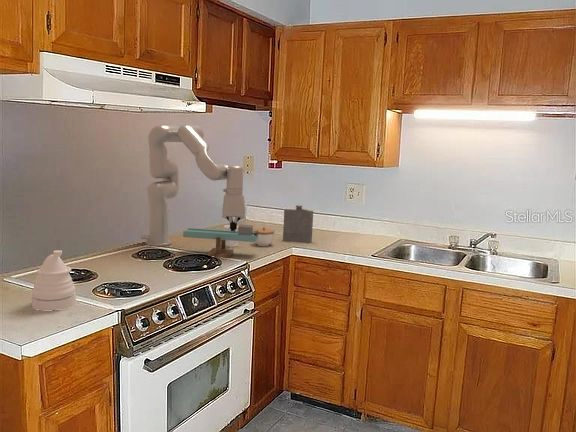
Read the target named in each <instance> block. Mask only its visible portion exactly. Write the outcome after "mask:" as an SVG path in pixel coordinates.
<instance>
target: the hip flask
mask: <svg viewBox="0 0 576 432" xmlns="http://www.w3.org/2000/svg"><path fill="white" fill-rule="evenodd" d="M313 223H314V210H308V209H306V208H303V205H302V204H301V205H299V204H296V205H295V208H284V210H283V229H282V230H283V233H282V242H292V243H301V244H302V243H303V244H312V241H313Z"/></svg>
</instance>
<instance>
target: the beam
mask: <svg viewBox="0 0 576 432" xmlns="http://www.w3.org/2000/svg"><path fill="white" fill-rule="evenodd" d="M182 234H183V235H182V236H183V238H190V239H191V238H194V239H206V240H207V239H208V240H216V237H220V238H221V241H222V240H231V241H238V242H249V243H256V241H257V239H258V231H255V232H253V235H252V236H251V235H238V231H228V230H224V229H213V228H212V229H211V228H198V227H188V228H187V230H183V233H182Z"/></svg>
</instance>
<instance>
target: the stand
mask: <svg viewBox="0 0 576 432" xmlns="http://www.w3.org/2000/svg"><path fill="white" fill-rule="evenodd" d="M234 249H235V248H230V247H227V246H226V240H222V241H221V238H220V237H216V239H215V247H212V249H210V250H209V251H208V252H207V253H206V256H207V255H209V256H214V257H213V258H220V257H223V258H224V259H229V258H230V257H231V256H232V255H233V253H234Z"/></svg>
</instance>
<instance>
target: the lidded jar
mask: <svg viewBox="0 0 576 432" xmlns="http://www.w3.org/2000/svg"><path fill="white" fill-rule="evenodd" d="M255 231H258V239H257V241H256V242H255V243H256V245H257V246H258V247H269V246H270V245H271V243H273V240H274V236H275V230H273V229H271V228H266V227H265V226H264V227H262V228H255V229H253V232H255Z"/></svg>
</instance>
